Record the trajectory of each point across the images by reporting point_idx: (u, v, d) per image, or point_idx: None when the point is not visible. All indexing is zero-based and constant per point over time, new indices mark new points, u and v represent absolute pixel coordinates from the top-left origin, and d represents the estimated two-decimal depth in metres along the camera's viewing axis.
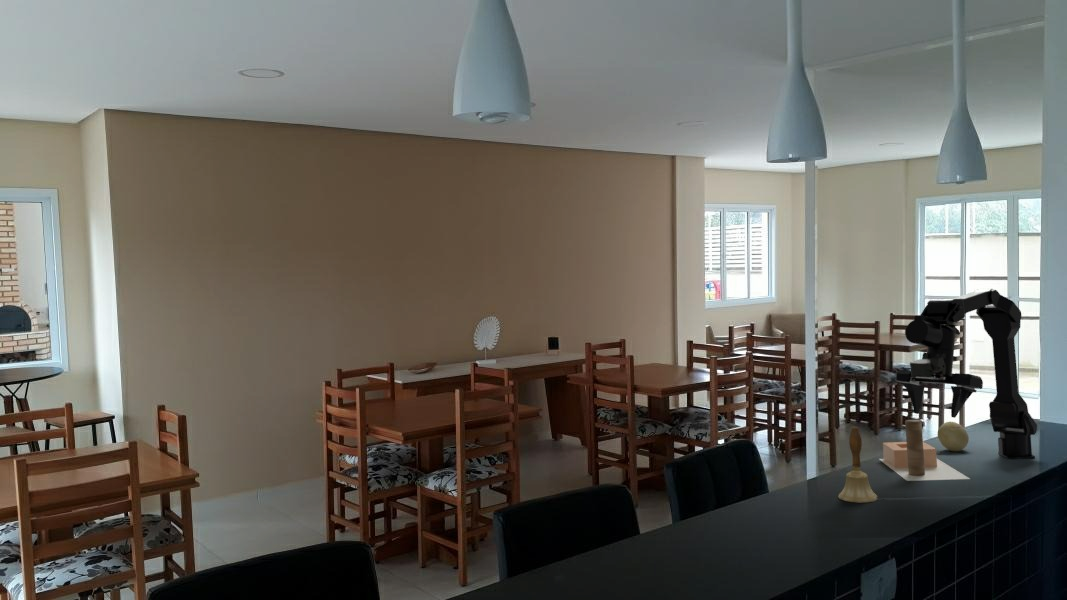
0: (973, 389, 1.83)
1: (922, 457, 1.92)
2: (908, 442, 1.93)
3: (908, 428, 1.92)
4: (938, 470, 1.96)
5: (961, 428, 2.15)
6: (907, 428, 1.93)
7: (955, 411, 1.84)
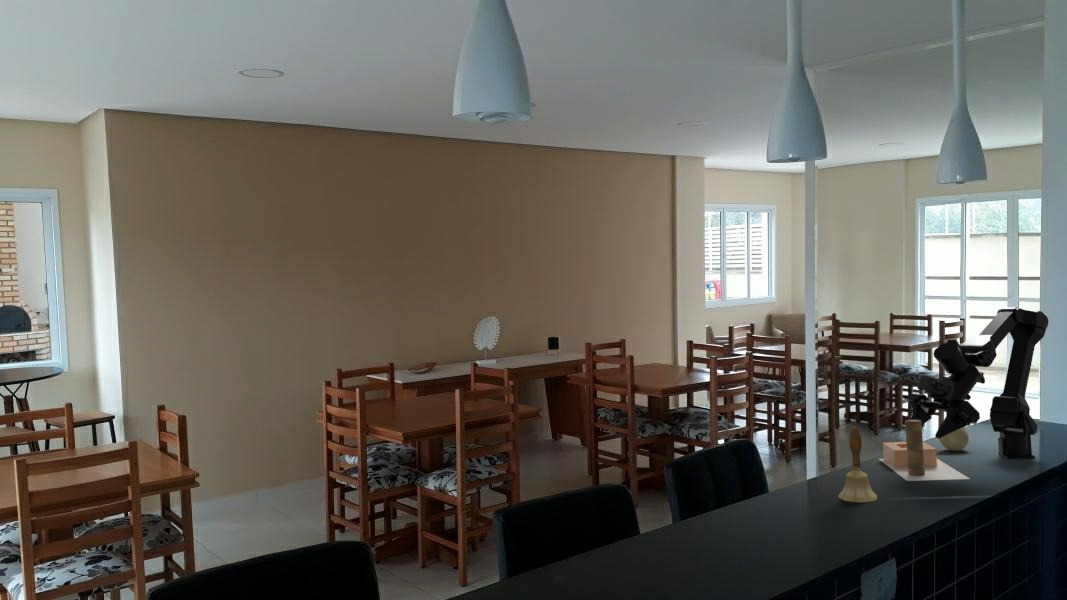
0: (967, 420, 1.87)
1: (922, 457, 1.92)
2: (908, 442, 1.93)
3: (908, 428, 1.92)
4: (938, 470, 1.96)
5: (961, 428, 2.15)
6: (907, 428, 1.93)
7: (941, 432, 1.89)
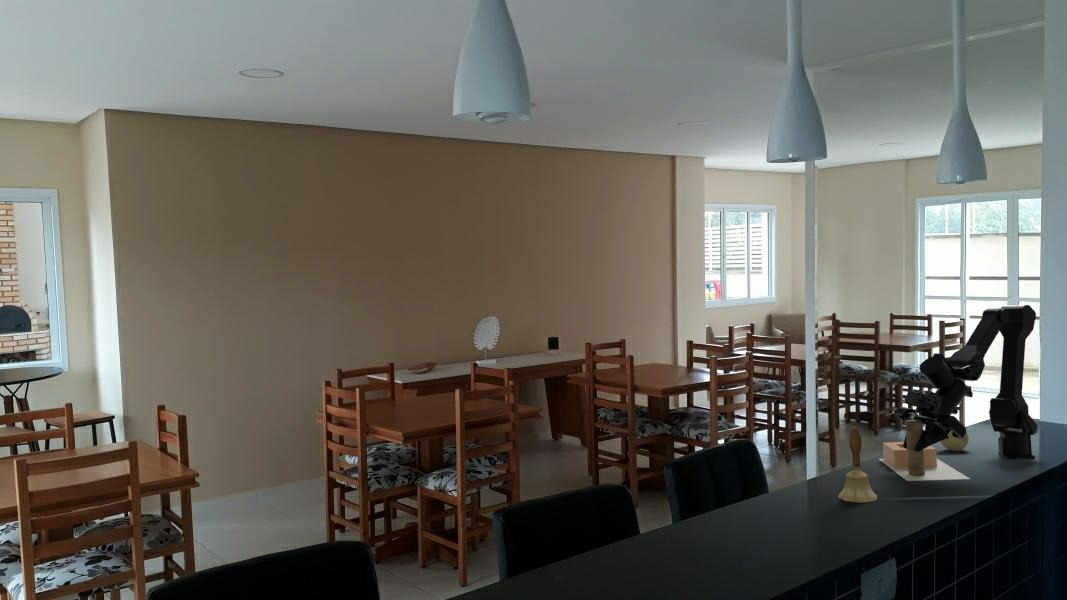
0: (945, 433, 1.89)
1: (922, 457, 1.92)
2: (908, 442, 1.93)
3: (908, 428, 1.92)
4: (938, 470, 1.96)
5: None
6: (907, 428, 1.93)
7: (920, 445, 1.91)
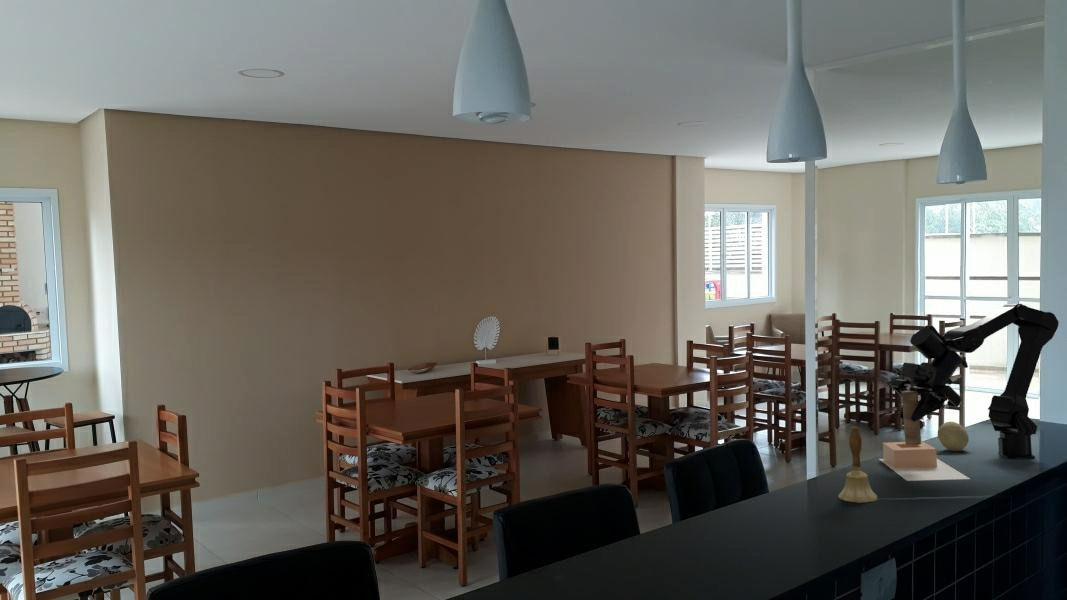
0: (941, 403, 1.94)
1: (918, 426, 1.97)
2: (905, 412, 1.98)
3: (905, 398, 1.98)
4: (938, 470, 1.96)
5: (961, 428, 2.15)
6: (904, 399, 1.98)
7: (916, 415, 1.96)
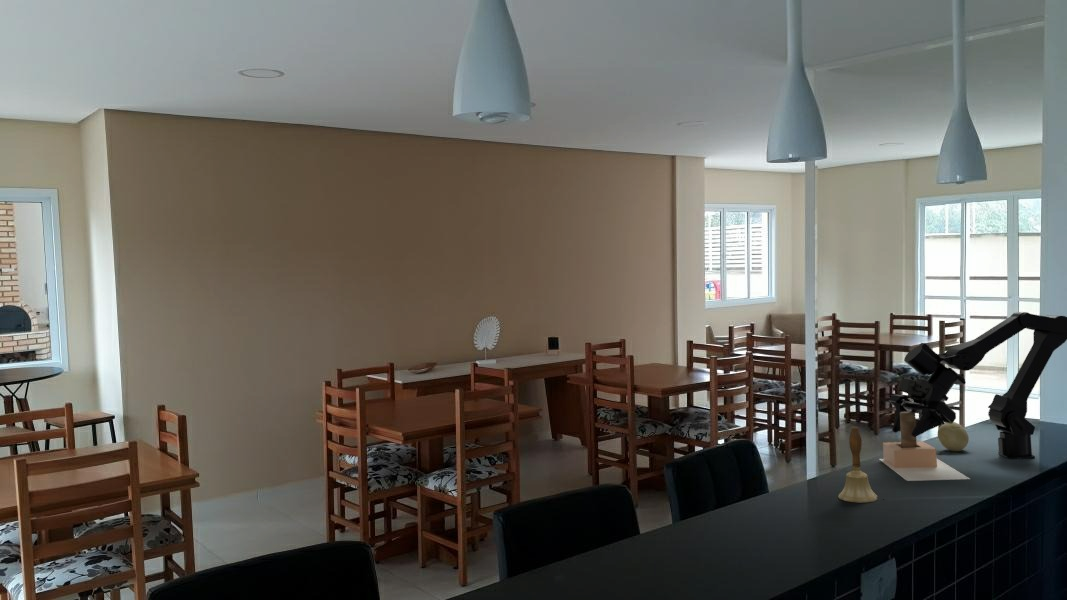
0: (941, 419, 1.99)
1: None
2: (902, 432, 2.04)
3: (903, 419, 2.04)
4: (938, 470, 1.96)
5: (961, 428, 2.15)
6: (901, 419, 2.04)
7: (917, 431, 2.01)
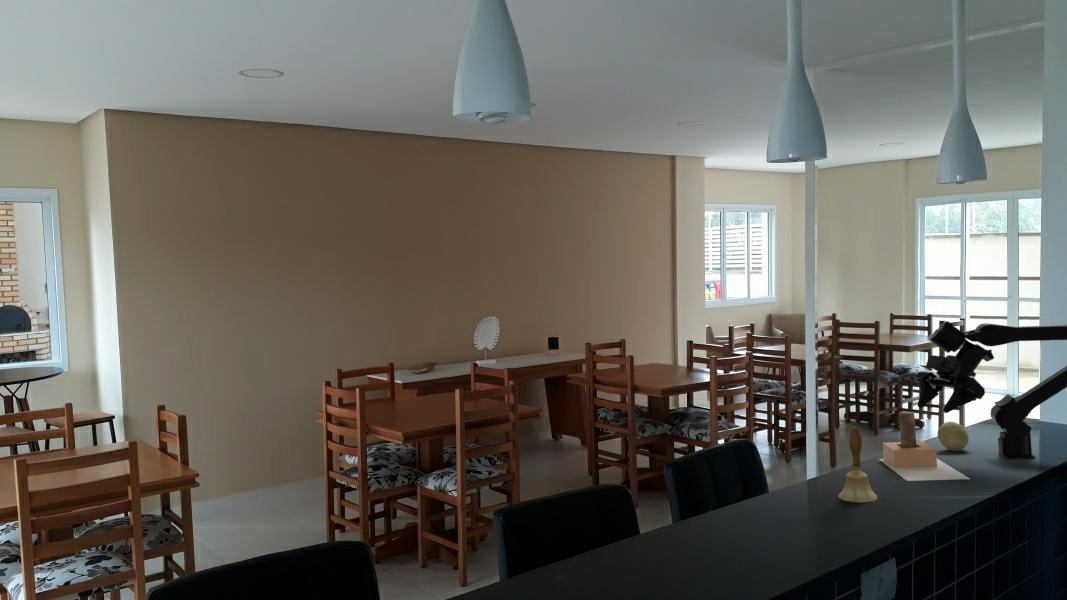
0: (973, 395, 2.00)
1: None
2: (902, 433, 2.04)
3: (902, 419, 2.04)
4: (938, 470, 1.96)
5: (961, 428, 2.15)
6: (901, 419, 2.04)
7: (949, 407, 2.02)
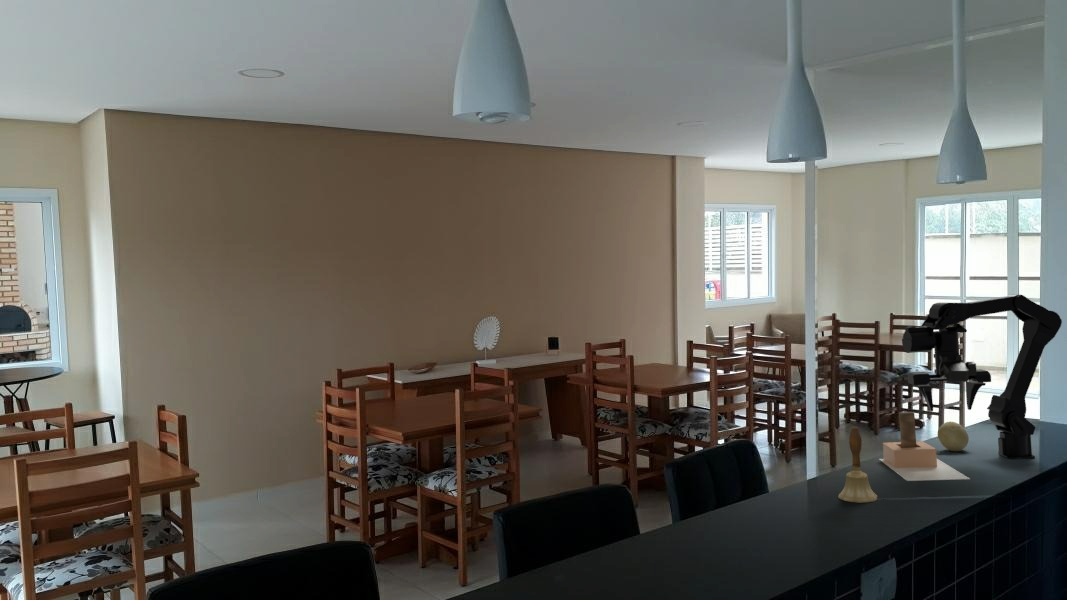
0: None
1: None
2: (902, 433, 2.04)
3: (902, 419, 2.04)
4: (938, 470, 1.96)
5: (961, 428, 2.15)
6: (901, 419, 2.04)
7: None
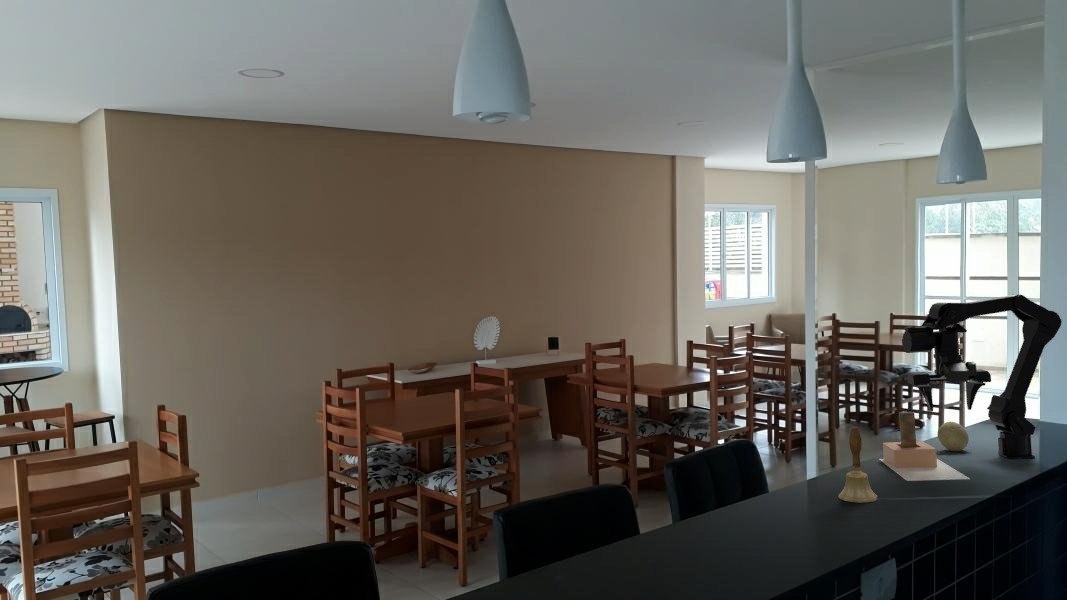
0: None
1: None
2: (902, 433, 2.04)
3: (902, 419, 2.04)
4: (938, 470, 1.96)
5: (961, 428, 2.15)
6: (901, 419, 2.04)
7: None
